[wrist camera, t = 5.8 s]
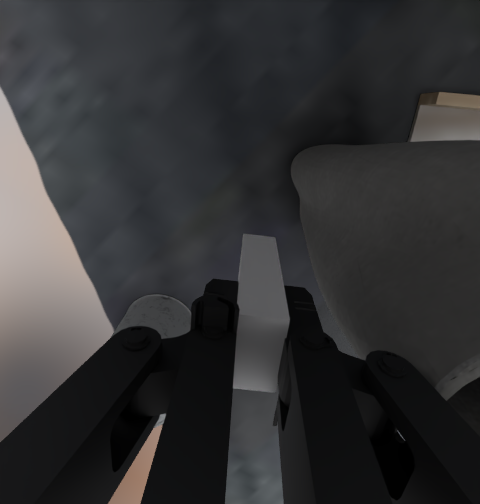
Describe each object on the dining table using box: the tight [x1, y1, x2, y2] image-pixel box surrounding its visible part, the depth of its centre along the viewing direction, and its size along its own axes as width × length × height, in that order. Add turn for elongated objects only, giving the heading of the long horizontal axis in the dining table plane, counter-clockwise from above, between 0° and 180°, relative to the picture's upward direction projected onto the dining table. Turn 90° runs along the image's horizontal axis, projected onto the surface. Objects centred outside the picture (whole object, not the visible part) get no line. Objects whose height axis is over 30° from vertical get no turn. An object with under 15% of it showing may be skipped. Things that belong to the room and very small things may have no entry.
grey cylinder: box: [112, 294, 191, 428], centre depth 39 cm, size 10×10×12 cm
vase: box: [291, 140, 480, 436], centre depth 22 cm, size 12×12×30 cm
